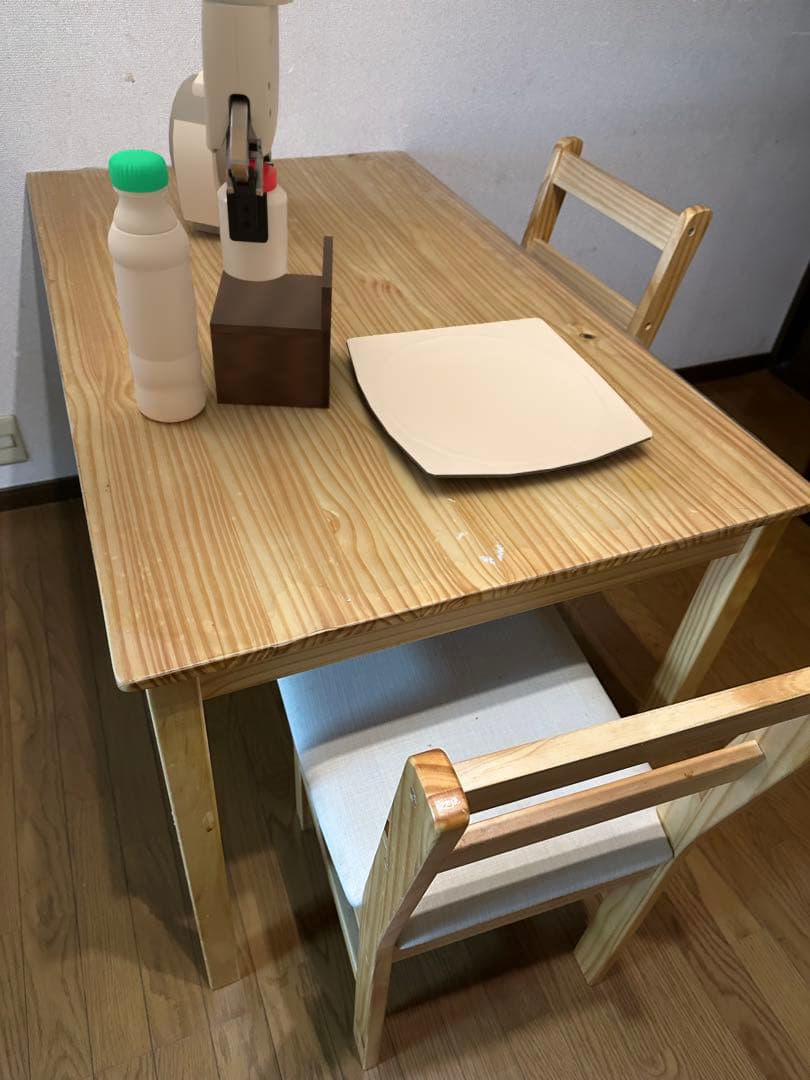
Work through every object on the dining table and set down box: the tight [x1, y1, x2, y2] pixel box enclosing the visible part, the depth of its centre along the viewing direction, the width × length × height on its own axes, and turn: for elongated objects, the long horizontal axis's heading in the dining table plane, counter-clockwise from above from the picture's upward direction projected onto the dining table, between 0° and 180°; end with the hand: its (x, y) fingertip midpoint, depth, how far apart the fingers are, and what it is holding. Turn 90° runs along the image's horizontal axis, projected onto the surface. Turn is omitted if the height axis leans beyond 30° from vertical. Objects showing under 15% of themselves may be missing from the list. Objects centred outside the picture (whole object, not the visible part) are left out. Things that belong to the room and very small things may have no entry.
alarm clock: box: [168, 69, 269, 236], centre depth 110 cm, size 18×8×20 cm, turn 164°
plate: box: [345, 317, 654, 479], centre depth 86 cm, size 29×29×3 cm
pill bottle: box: [217, 161, 289, 281], centre depth 67 cm, size 6×6×8 cm
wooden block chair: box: [209, 235, 334, 409], centre depth 82 cm, size 12×12×14 cm
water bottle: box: [107, 148, 207, 423], centre depth 73 cm, size 7×7×25 cm
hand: (253, 222), depth 67 cm, fingers closed on pill bottle, 5 cm apart
